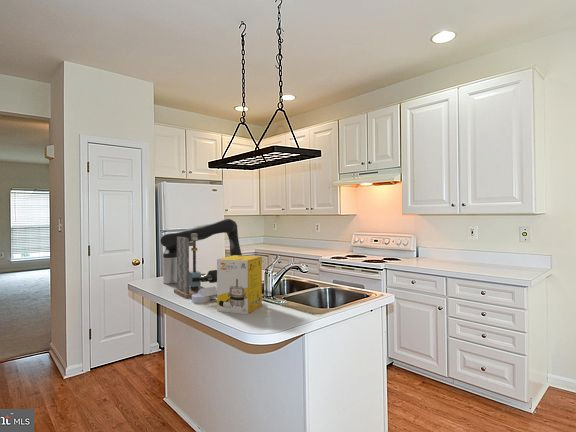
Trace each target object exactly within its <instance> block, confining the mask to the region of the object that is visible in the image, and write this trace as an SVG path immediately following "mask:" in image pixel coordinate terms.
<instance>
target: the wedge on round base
mask: <svg viewBox="0 0 576 432" xmlns="http://www.w3.org/2000/svg"><path fill="white" fill-rule="evenodd" d="M210 296H217V287H216V286H211V287H210V286H209V287H204V288H202V289H200V290H199V291H198V292H197V294H193V295H192V298H191V303H192V304H205V303H208V302H210Z"/></svg>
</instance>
